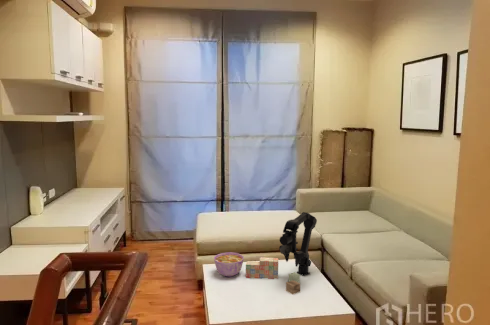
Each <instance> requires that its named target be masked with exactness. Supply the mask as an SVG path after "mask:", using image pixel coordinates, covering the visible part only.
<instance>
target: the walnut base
mask: <svg viewBox="0 0 490 325" xmlns="http://www.w3.org/2000/svg"><path fill="white" fill-rule="evenodd" d="M285 290H286V291H285V292H287V291H288V292H290V293H292V294H294V293H296V294H298V293H297V292H299V293H301V292H300V291H301V283H300V282H296V281H294V280H292V281H289V280H288V281H286V283H285ZM288 292H287V293H288ZM290 293H289V294H290ZM292 294H291V295H292ZM294 295H295V294H294Z"/></svg>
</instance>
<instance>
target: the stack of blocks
mask: <svg viewBox="0 0 490 325" xmlns="http://www.w3.org/2000/svg"><path fill="white" fill-rule="evenodd" d="M245 278H246V279H248V278H249V279H262V278H268V280H275V279H276V280H277V279H279V258H277V257H259V261H254V260H252V261H249V260H247V261H246V262H245Z"/></svg>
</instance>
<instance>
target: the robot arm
mask: <svg viewBox="0 0 490 325" xmlns="http://www.w3.org/2000/svg"><path fill="white" fill-rule="evenodd" d="M317 221H318V220H317V218H316V217H315V216H314V215H313V214H311V213H309V212H306V211H305V212H304V211H303V212H301V214H299V215H298V216H296V218H293V219H289V220H287V221H286V222H285V225H284V227H283V230H282V236H280V237H279V243H280V246H279V247H278V249H279V251H280V254H281V255H283V256H284V258H285V262H286V263H288V261H289V259H290V253H291V254H293V259H294V264H295V267H296V268H297V267H298V268H297V269H298V270H297V271H296V273H297V274H299V275H300V276H307V275H310V274H311V272H310V271H309V267H311V265H312V260H311V259H310V254H309V247H310V242H311V236H312V233H313V232H312V231H313V230H314V228H315V227H316V224H317ZM302 224H303V227H304V230H303V231H304V232H303V234H302V241H301V245H300V246H301V247H300V250H299V248H297V245H298V241H297V233H299V232H298V229H300V225H302ZM298 250H299V251H298Z"/></svg>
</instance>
